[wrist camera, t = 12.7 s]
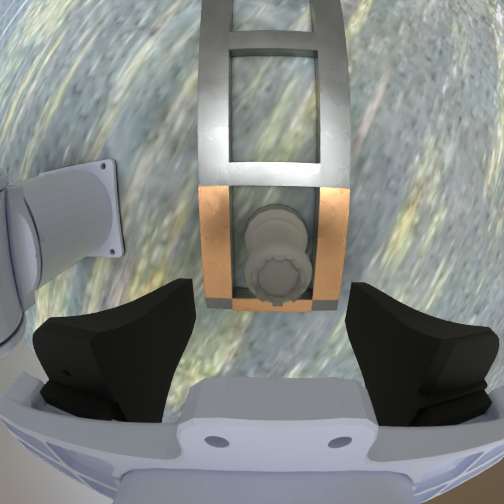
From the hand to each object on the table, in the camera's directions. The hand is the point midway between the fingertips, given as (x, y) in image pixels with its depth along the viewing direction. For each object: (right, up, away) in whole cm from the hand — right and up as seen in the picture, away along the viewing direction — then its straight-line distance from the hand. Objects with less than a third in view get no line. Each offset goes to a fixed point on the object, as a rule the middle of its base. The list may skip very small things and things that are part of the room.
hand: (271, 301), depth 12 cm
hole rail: (+1, +12, +5) cm, 13 cm away
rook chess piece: (+1, +4, +8) cm, 9 cm away
